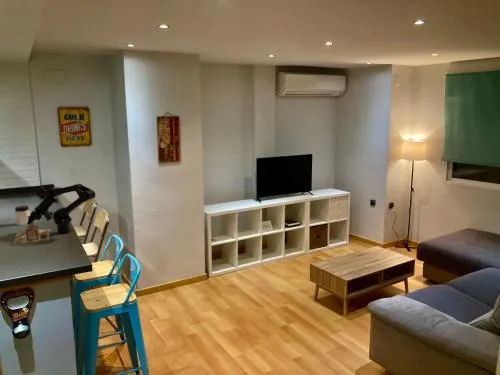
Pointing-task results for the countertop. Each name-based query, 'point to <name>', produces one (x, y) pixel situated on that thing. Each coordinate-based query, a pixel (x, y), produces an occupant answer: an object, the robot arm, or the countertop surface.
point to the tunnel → (31, 228)
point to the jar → (22, 215)
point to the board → (22, 239)
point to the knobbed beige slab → (32, 233)
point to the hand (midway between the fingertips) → (28, 223)
